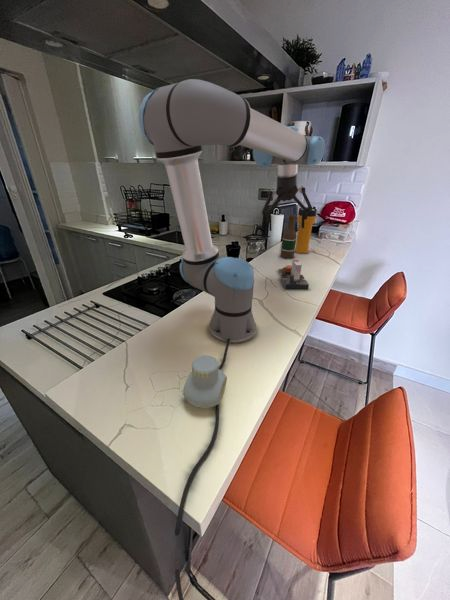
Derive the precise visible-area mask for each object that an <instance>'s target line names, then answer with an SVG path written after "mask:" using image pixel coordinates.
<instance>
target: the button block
mask: <svg viewBox="0 0 450 600" xmlns="http://www.w3.org/2000/svg"><path fill="white" fill-rule="evenodd" d="M278 274H280V276H281V274H282V275H291V271H287V270H286V266H284V267H282V268H278Z"/></svg>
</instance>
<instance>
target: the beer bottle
mask: <svg viewBox="0 0 450 600" xmlns="http://www.w3.org/2000/svg"><path fill="white" fill-rule="evenodd" d="M296 217H297V215H296V214H293V213H290V214H289V215H288V222H287V226H286V229H285V231H284V232H283V234H282V239H281V245H280V257H281V258H282V259H286V260H287V259H288V260H291V259H293V258H294V257H295V252H296V251H295V248H296V241H297V235H298V234H297V232H296V230H295V225H296V224H295V223H296Z"/></svg>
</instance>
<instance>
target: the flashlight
mask: <svg viewBox="0 0 450 600" xmlns="http://www.w3.org/2000/svg"><path fill="white" fill-rule="evenodd" d="M312 208H313V209H312V210H310V211H308V214H307V220H304V228H302V226H301V224H302V211H304V210H303V209H302V208H301V207H299V208H298V212H297V222H298V228H297V234H296V235H297V237H296V245H295V251H294V252H295V253H297V254H308V251H309V246H310V240H311V235H312V229H313V225H314V223H315V222H316V218H317V213H318V208H315V207H312Z"/></svg>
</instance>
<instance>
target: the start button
mask: <svg viewBox="0 0 450 600" xmlns="http://www.w3.org/2000/svg"><path fill="white" fill-rule="evenodd" d="M285 267H286V270H287V271H291V269H292V265H291V264H290V265H289V264H288V265H285Z"/></svg>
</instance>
